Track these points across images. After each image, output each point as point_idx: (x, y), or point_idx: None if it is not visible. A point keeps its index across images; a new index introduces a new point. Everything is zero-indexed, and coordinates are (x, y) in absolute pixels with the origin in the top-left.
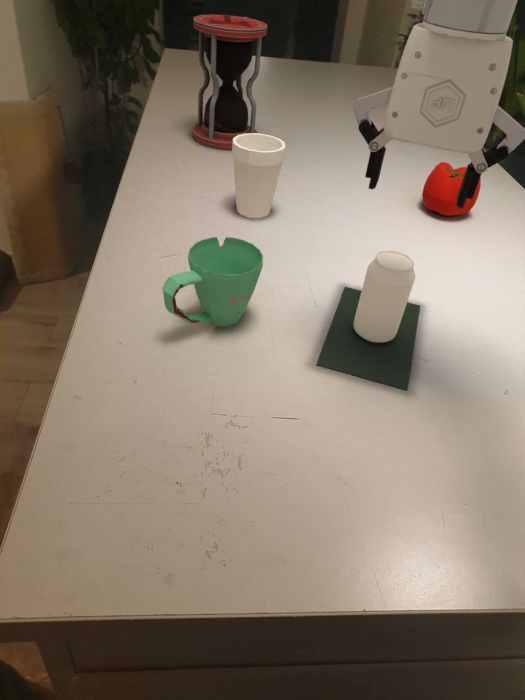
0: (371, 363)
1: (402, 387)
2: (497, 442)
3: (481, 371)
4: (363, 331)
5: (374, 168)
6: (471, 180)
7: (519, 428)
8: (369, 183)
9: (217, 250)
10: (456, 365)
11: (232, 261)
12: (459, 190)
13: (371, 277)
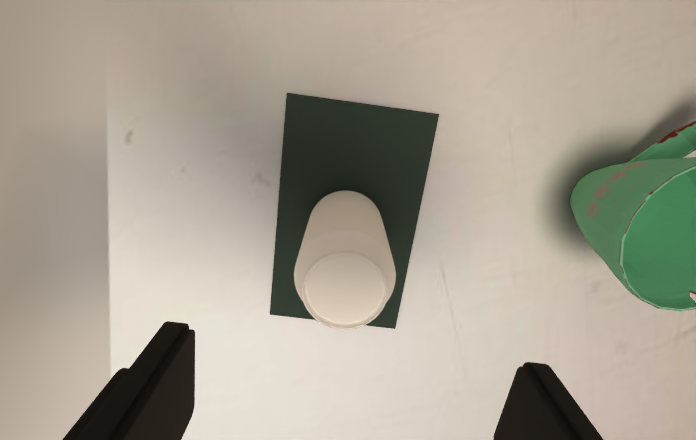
0: (347, 142)
1: (295, 96)
2: (140, 7)
3: (168, 177)
4: (367, 200)
5: (589, 432)
6: (100, 414)
7: (106, 53)
8: (556, 376)
9: (690, 284)
10: (208, 181)
11: (642, 276)
12: (181, 422)
13: (386, 248)
